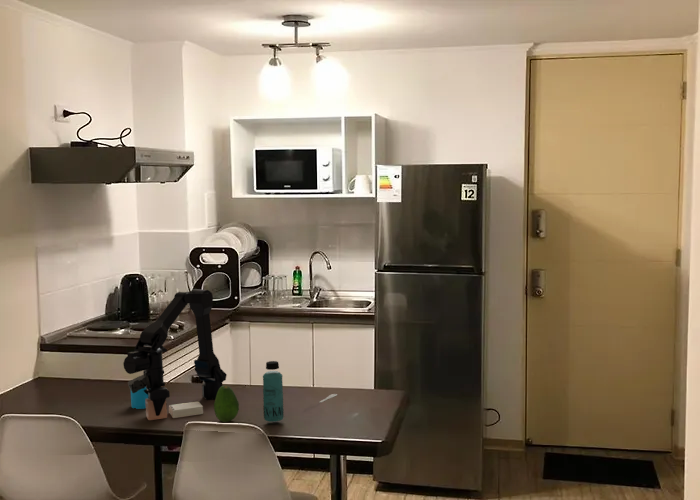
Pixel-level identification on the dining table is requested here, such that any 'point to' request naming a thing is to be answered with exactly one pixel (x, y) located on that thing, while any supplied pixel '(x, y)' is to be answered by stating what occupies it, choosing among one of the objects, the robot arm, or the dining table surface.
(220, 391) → the avocado
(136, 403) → the mug
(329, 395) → the butter knife
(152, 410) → the tan cube
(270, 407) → the beverage bottle
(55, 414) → the dining table surface
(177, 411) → the slab
